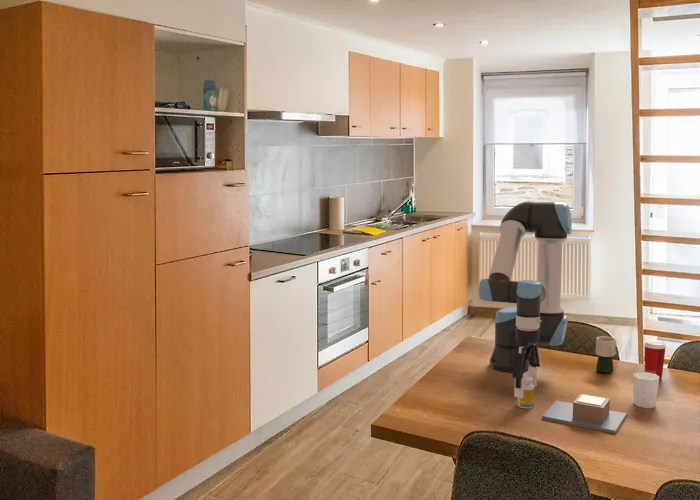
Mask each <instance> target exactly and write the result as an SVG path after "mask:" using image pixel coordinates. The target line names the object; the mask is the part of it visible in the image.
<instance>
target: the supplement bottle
mask: <svg viewBox="0 0 700 500" xmlns="http://www.w3.org/2000/svg"><path fill="white" fill-rule="evenodd" d="M523 378H524V389H523V398H518V397H516V406H517V407H519V408H521V409H527V410H529V409H533V408H534V405H535V387H534V385H533V384H532V382H533V379H532V378H531V377H528V375H525V376H524V375H523Z"/></svg>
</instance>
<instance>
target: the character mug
mask: <svg viewBox="0 0 700 500" xmlns="http://www.w3.org/2000/svg"><path fill="white" fill-rule="evenodd" d="M595 340H596V341H595V355H596V356H598V357H597V362H596V371H597V372H601V373H606V374H607V373H614V363H613V362H614V361H613V357H614V356H615V355H616V353H617V352H616V347H617V338H616V337H615V338H614V337H612V336H604V335H603V336H597V337H596V339H595Z"/></svg>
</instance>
